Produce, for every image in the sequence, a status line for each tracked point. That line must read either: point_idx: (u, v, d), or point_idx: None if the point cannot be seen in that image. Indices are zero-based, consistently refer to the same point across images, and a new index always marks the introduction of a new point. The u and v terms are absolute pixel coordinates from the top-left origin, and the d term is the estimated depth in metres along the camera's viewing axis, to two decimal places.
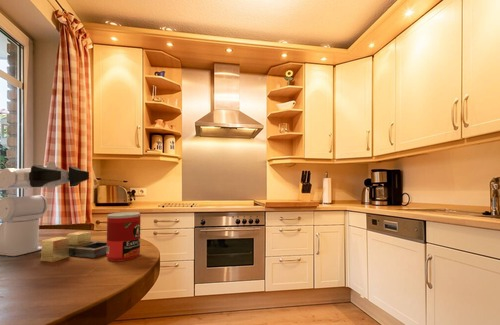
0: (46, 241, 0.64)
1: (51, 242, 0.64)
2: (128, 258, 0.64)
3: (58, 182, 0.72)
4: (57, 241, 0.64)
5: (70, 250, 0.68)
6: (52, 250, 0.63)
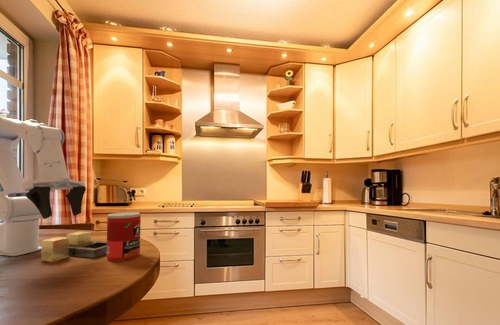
0: (46, 241, 0.64)
1: (51, 242, 0.64)
2: (128, 258, 0.64)
3: None
4: (57, 241, 0.64)
5: (70, 250, 0.68)
6: (52, 250, 0.63)
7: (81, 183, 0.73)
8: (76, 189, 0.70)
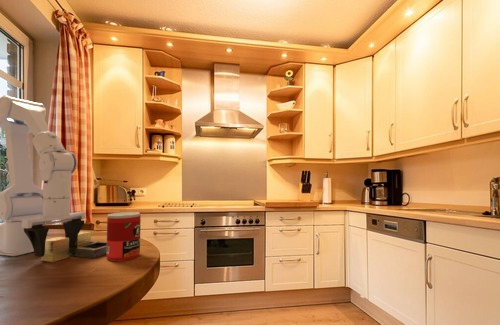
0: (46, 241, 0.64)
1: (51, 242, 0.64)
2: (128, 258, 0.64)
3: None
4: (57, 241, 0.64)
5: (70, 250, 0.68)
6: (52, 250, 0.63)
7: (82, 214, 0.72)
8: (74, 224, 0.69)
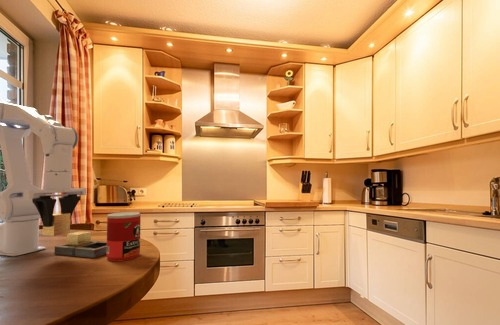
0: None
1: None
2: (128, 258, 0.64)
3: None
4: (58, 215, 0.65)
5: (70, 250, 0.68)
6: (54, 224, 0.64)
7: (83, 190, 0.72)
8: (70, 199, 0.68)
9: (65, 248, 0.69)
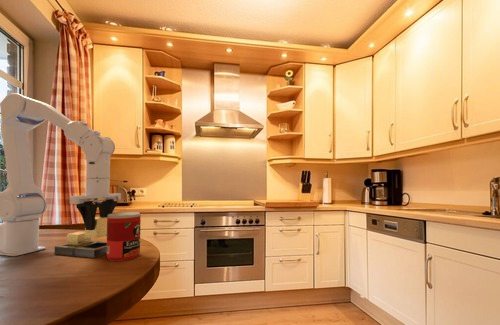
0: None
1: (95, 220, 0.69)
2: (128, 258, 0.64)
3: None
4: (100, 219, 0.70)
5: (70, 250, 0.68)
6: (96, 228, 0.69)
7: (118, 195, 0.77)
8: (109, 203, 0.73)
9: (65, 248, 0.69)
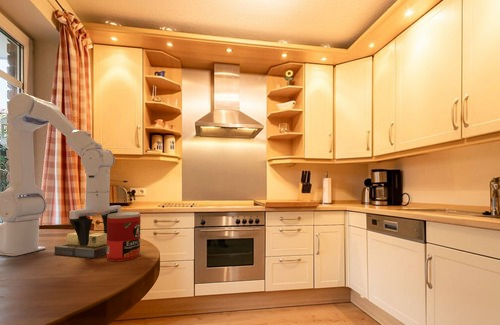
0: (89, 236, 0.69)
1: (94, 237, 0.68)
2: (128, 258, 0.64)
3: None
4: (99, 236, 0.69)
5: (70, 250, 0.68)
6: (95, 245, 0.68)
7: (118, 207, 0.77)
8: None
9: (65, 248, 0.69)
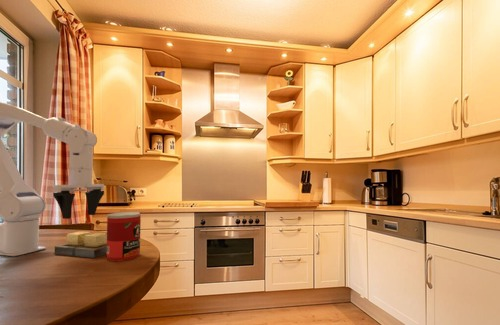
0: (89, 236, 0.69)
1: (94, 237, 0.68)
2: (128, 258, 0.64)
3: None
4: (99, 236, 0.69)
5: (70, 250, 0.68)
6: (95, 245, 0.68)
7: (101, 185, 0.81)
8: (96, 193, 0.78)
9: (65, 248, 0.69)
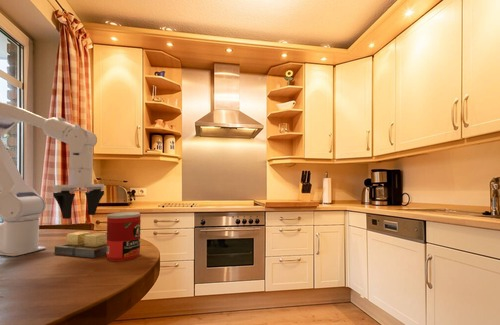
0: (89, 236, 0.69)
1: (94, 237, 0.68)
2: (128, 258, 0.64)
3: None
4: (99, 236, 0.69)
5: (70, 250, 0.68)
6: (95, 245, 0.68)
7: (101, 185, 0.81)
8: (96, 193, 0.78)
9: (65, 248, 0.69)
